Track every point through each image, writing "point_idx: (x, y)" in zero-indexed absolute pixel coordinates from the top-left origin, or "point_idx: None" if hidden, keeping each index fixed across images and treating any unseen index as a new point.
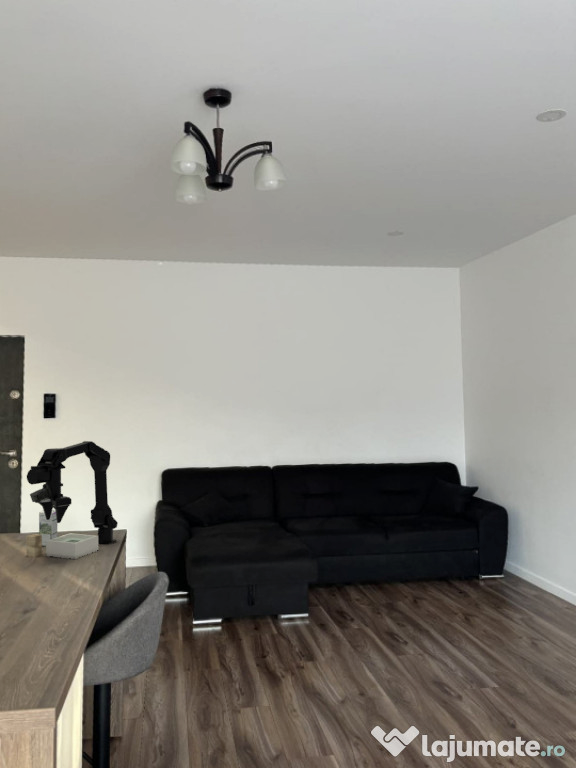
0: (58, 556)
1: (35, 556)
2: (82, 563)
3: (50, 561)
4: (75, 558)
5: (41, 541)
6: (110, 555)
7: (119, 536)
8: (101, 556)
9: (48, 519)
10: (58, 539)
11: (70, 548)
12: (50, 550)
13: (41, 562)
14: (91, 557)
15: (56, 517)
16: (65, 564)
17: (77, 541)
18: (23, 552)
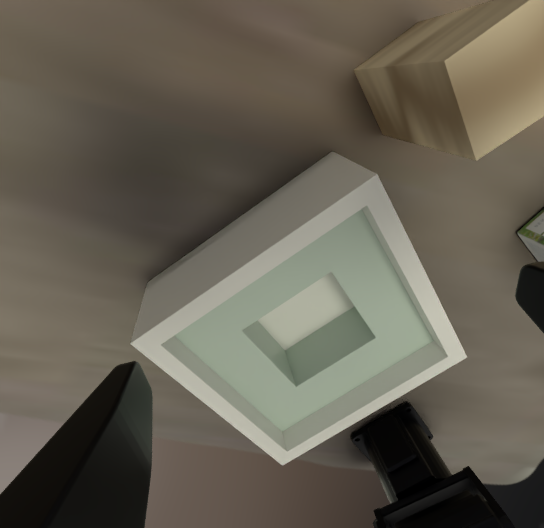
0: (251, 211)
1: (359, 78)
2: (16, 295)
3: (171, 138)
4: (147, 284)
5: (434, 144)
6: None
7: None
8: None
9: (518, 287)
10: (399, 270)
11: (170, 294)
12: (313, 181)
13: (176, 71)
14: None
15: (85, 444)
16: (32, 205)
17: (334, 356)
18: None
